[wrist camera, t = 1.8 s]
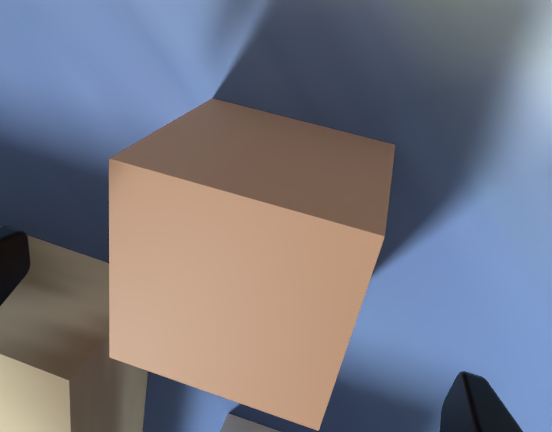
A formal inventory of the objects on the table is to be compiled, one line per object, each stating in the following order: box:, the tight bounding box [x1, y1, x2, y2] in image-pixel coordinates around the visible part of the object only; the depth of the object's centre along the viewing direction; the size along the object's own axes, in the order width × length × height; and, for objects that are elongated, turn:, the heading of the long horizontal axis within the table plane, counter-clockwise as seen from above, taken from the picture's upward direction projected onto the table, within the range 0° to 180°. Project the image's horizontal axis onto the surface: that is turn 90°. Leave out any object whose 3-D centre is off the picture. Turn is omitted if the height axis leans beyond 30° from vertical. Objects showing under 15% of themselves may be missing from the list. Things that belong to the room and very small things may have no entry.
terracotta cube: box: [109, 98, 395, 431], centre depth 11 cm, size 5×5×5 cm
